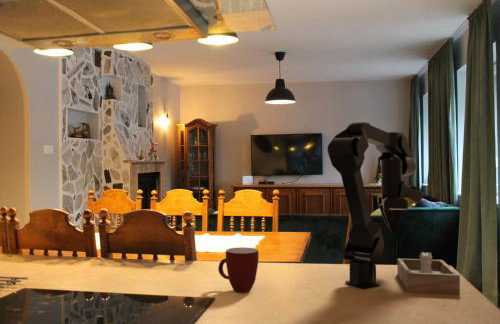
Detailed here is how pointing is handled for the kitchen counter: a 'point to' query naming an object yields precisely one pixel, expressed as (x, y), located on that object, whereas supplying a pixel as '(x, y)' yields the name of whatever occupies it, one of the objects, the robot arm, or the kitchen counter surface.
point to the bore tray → (428, 277)
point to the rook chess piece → (425, 262)
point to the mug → (240, 268)
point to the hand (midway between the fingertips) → (391, 231)
